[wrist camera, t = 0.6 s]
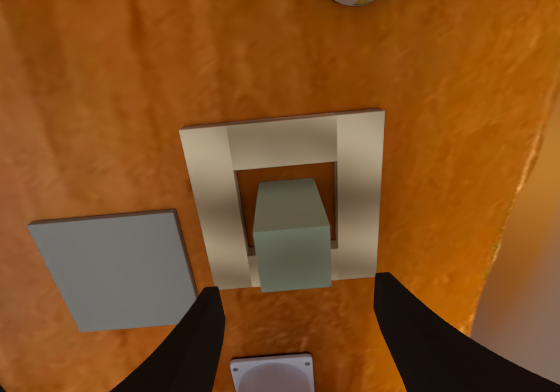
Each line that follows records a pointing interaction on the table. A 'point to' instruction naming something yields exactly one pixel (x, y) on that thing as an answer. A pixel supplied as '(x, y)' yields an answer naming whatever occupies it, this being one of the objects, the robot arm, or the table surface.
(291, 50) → the table surface
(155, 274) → the coaster
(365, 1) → the supplement bottle
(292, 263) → the part block
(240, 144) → the beige square frame
